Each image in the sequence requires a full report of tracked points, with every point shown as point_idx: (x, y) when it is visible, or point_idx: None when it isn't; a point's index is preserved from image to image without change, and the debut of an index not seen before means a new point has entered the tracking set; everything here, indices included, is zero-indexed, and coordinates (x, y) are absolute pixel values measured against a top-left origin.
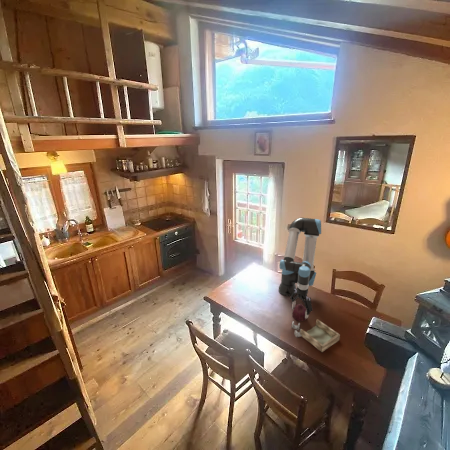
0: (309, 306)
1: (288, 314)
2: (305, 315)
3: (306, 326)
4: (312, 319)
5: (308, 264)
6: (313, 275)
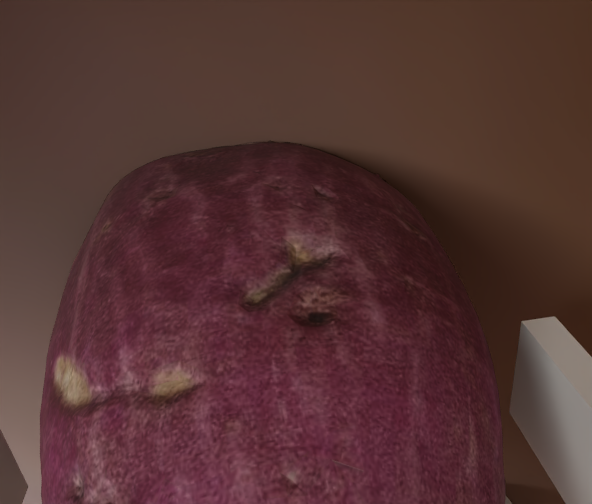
0: None
1: None
2: (572, 494)
3: None
4: (545, 94)
5: None
6: None
